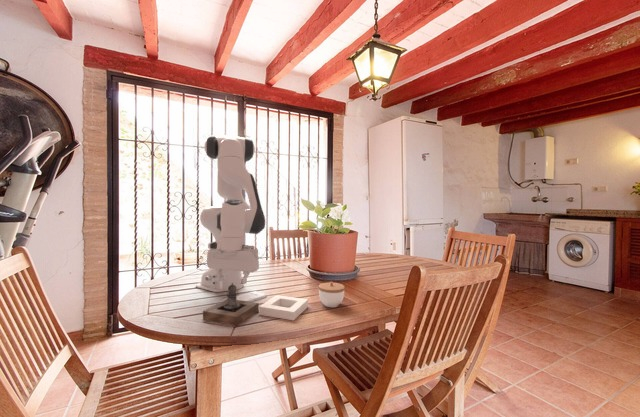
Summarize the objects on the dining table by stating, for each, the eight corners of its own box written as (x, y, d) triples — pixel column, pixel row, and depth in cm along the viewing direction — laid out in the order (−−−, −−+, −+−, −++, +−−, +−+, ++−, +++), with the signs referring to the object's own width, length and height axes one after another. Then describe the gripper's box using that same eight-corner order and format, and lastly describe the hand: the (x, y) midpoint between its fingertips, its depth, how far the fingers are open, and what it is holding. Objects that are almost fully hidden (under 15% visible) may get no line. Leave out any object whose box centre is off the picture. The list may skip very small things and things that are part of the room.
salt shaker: (243, 315, 107) (243, 282, 106) (228, 319, 102) (229, 286, 102) (234, 310, 110) (235, 279, 110) (220, 315, 106) (220, 282, 106)
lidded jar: (347, 302, 122) (348, 280, 122) (339, 311, 112) (340, 287, 112) (323, 298, 126) (324, 277, 126) (314, 306, 116) (314, 283, 116)
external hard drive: (231, 301, 122) (254, 294, 132) (242, 305, 117) (266, 298, 127) (231, 297, 122) (254, 290, 132) (242, 301, 117) (266, 294, 127)
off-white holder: (259, 314, 107) (259, 306, 107) (276, 302, 121) (276, 295, 120) (293, 320, 103) (293, 312, 103) (307, 306, 116) (308, 299, 116)
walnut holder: (202, 319, 102) (203, 310, 102) (227, 305, 115) (227, 298, 115) (236, 325, 97) (237, 316, 97) (258, 310, 111) (258, 303, 111)
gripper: (262, 244, 105) (262, 282, 105) (215, 241, 112) (215, 277, 112) (253, 247, 99) (252, 287, 99) (204, 243, 106) (203, 281, 106)
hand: (232, 282), depth 105 cm, fingers open, 8 cm apart
